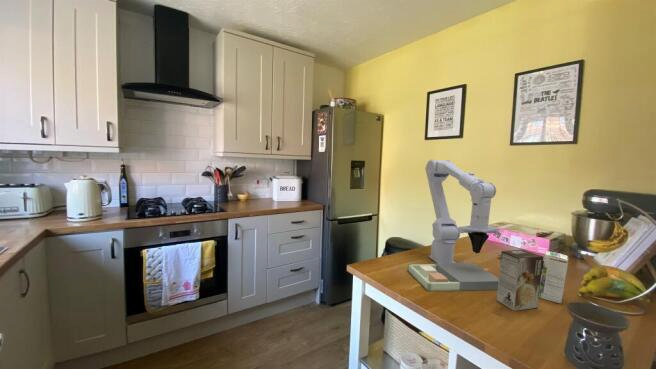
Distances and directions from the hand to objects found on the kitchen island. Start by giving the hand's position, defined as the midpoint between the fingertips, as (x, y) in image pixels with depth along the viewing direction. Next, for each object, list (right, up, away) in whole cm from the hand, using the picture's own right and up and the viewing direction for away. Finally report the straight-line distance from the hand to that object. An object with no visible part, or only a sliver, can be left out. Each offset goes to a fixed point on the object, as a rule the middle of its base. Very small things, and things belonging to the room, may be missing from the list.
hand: (476, 252), depth 100 cm
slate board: (-4, -10, -1) cm, 11 cm away
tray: (-17, -9, -2) cm, 20 cm away
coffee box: (+3, -12, -17) cm, 21 cm away
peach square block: (-16, -7, -6) cm, 19 cm away
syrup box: (+18, -12, -12) cm, 24 cm away
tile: (-17, -6, +1) cm, 18 cm away
